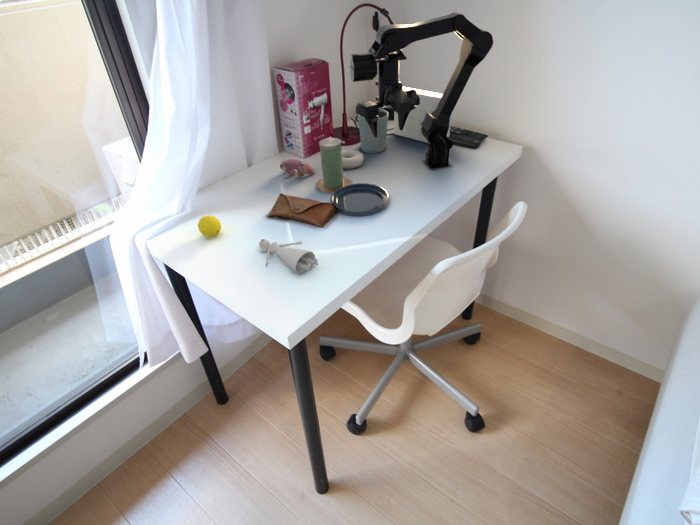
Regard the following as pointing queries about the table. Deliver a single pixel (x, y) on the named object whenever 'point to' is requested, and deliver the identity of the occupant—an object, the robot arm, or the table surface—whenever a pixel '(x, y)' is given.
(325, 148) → the tea tin
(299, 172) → the video game controller
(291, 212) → the sunglasses case
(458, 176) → the table surface
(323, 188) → the coaster
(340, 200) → the plate
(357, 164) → the donut
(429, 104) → the skincare box
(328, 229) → the table surface
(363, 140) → the grey-green cup
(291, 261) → the woman figurine
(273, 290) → the table surface
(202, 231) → the lemon
